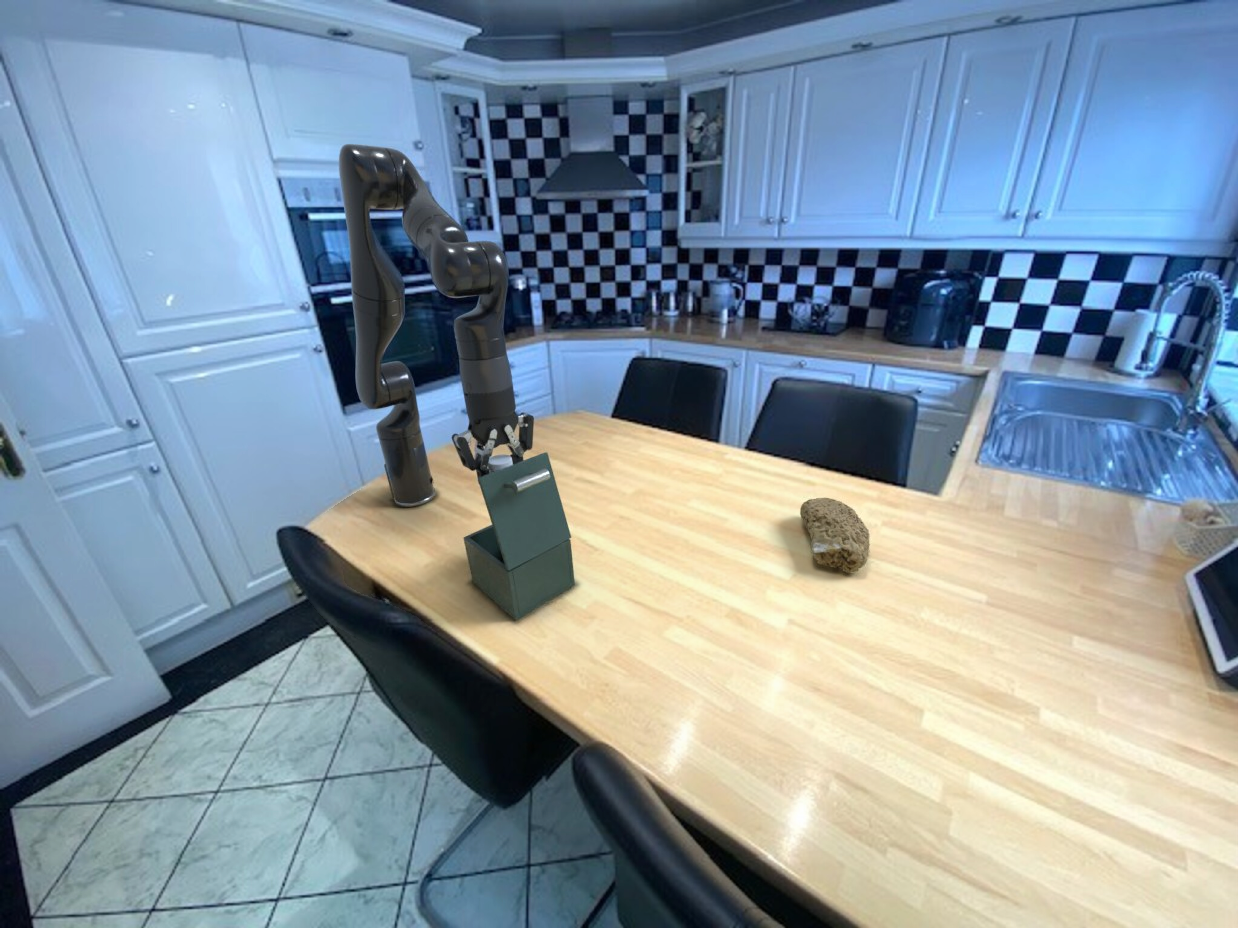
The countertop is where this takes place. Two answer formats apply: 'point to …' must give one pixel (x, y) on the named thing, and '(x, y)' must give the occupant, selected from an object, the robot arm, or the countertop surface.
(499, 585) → the bin
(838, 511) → the sponge
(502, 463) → the supplement bottle
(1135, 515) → the countertop surface
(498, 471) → the bin lid
